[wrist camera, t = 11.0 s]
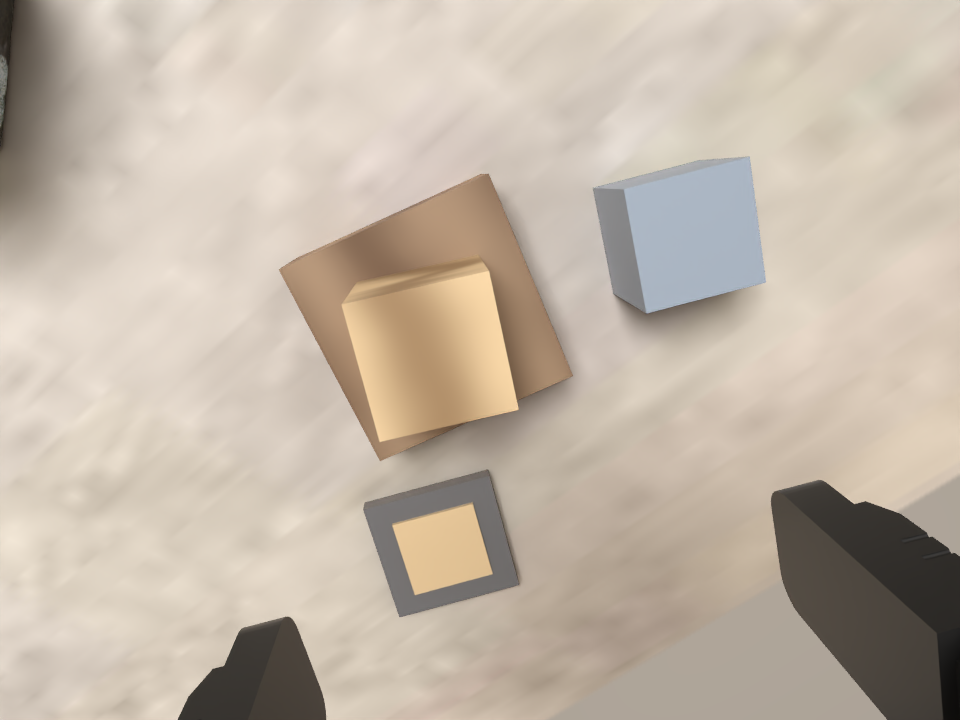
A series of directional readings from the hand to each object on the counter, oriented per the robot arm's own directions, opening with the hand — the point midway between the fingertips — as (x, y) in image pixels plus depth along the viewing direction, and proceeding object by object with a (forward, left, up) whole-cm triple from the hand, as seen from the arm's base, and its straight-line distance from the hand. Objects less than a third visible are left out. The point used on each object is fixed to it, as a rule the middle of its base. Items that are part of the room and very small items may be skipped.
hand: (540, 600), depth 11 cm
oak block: (+2, -1, -20) cm, 20 cm away
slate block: (-11, -2, -25) cm, 27 cm away
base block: (+1, -1, -25) cm, 25 cm away
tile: (+4, +12, -25) cm, 28 cm away
